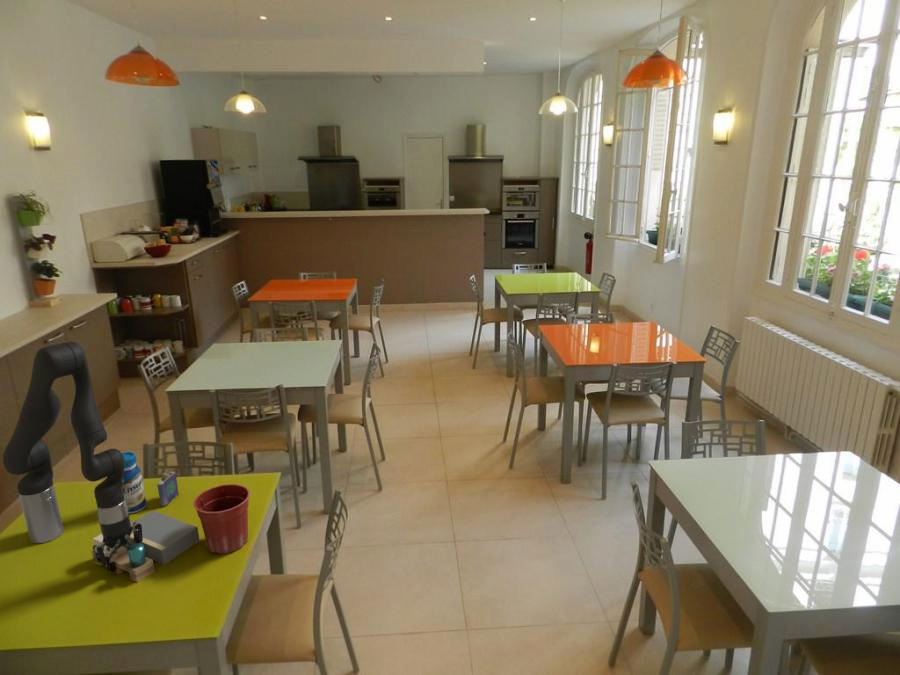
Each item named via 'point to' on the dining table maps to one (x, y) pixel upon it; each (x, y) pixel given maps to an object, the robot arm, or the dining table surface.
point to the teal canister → (136, 555)
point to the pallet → (124, 564)
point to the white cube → (99, 541)
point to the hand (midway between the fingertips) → (123, 564)
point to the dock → (165, 536)
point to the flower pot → (224, 516)
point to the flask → (167, 488)
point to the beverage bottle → (133, 484)
